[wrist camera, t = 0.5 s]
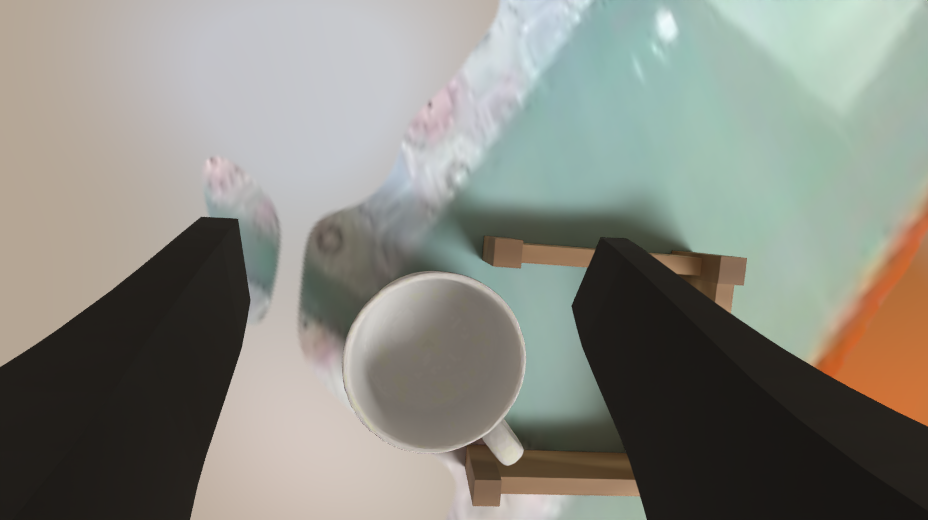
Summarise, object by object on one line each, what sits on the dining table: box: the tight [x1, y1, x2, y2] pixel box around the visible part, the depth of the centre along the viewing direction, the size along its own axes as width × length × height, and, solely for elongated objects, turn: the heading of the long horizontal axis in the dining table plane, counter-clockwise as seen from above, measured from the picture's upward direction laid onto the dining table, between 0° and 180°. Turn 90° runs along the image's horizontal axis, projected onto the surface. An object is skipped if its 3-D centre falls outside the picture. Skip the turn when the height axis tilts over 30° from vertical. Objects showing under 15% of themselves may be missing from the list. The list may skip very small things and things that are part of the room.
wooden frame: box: [465, 236, 747, 506], centre depth 34 cm, size 18×16×6 cm
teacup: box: [342, 271, 526, 466], centre depth 32 cm, size 14×11×8 cm
